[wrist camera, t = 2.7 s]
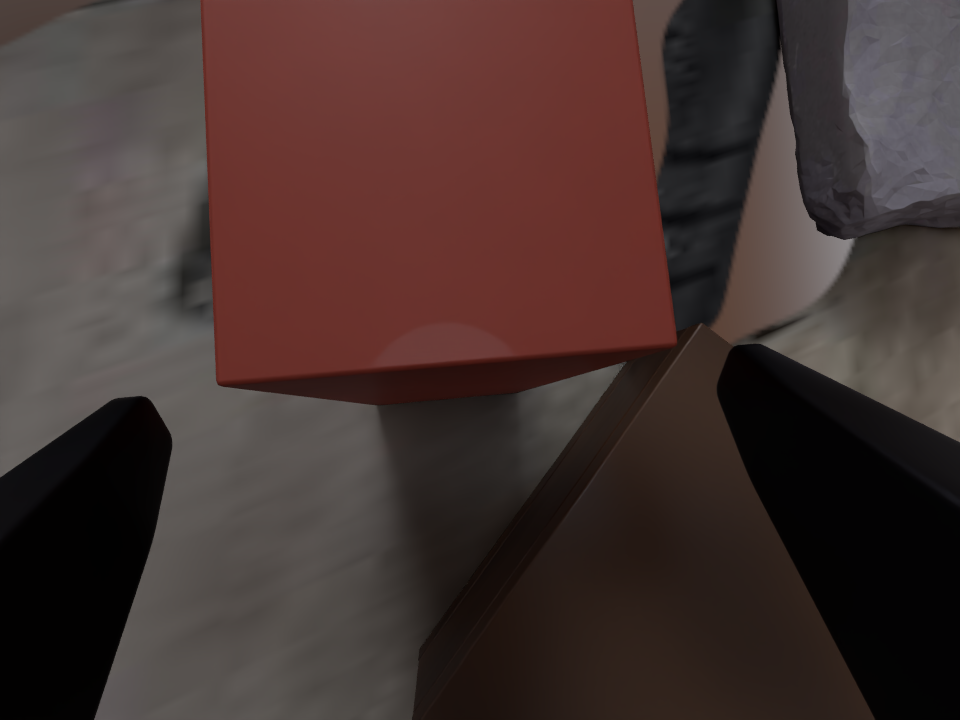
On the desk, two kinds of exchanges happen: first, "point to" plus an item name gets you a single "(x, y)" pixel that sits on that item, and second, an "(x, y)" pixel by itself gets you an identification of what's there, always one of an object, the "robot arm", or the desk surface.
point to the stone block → (874, 111)
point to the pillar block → (429, 196)
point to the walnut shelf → (640, 579)
